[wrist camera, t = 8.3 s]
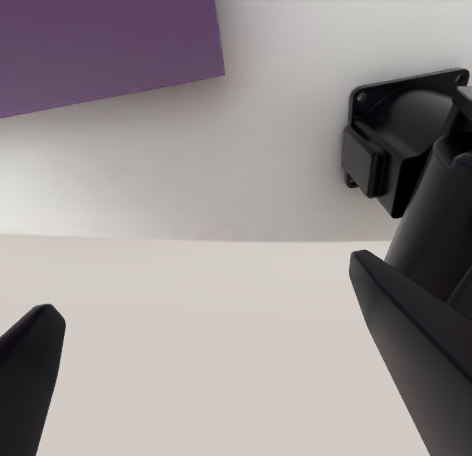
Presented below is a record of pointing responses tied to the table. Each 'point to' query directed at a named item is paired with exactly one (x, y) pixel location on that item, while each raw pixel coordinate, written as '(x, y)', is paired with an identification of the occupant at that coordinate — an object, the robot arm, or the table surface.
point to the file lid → (102, 49)
